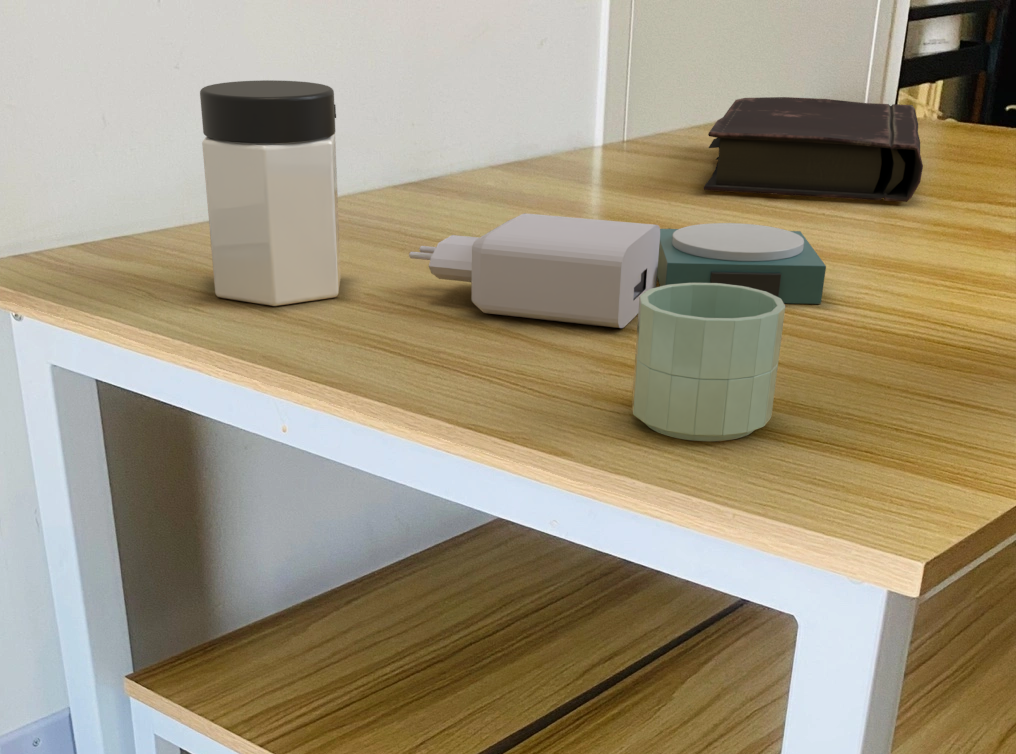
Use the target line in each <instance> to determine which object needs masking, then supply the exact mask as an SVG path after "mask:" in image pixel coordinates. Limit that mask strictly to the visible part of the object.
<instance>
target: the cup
mask: <svg viewBox="0 0 1016 754" xmlns="http://www.w3.org/2000/svg"><path fill="white" fill-rule="evenodd" d="M785 314H786V303H783V301H782V299H781V298H779V297H777V296H775V295H772V294H770V293H768V292H766V291H762V290H758V289H754V288H749V287H744V286H738V285H729V284H721V283H681V284H670V285H664V286H660V285H659V286H656V288H652V289H649V290H647V291H646V292H644V293H643V294H642V295H640V297H639V311H638V314H637V324H636V325H637V326H636V327H637V328H636V340H635V353H634V354H635V355H634V369H633V382H632V396H631V409H632V415H633V416H634V417H636V418H637V419H638V420H639V421H641V422H642V423H644V424H645V425H646V426H647V427H648V428H649V429H651V430H652V431H654V432H656V433H658V434H660V435H664V436H667V437H671V438H675V439H678V440H685V441H695V442H723V441H724V442H725V441H732V440H737V439H740V438H744V437H746V436H749V435H751V434H753V432H755V431H756V430H759V429H762V428H763V427H765V426H766V425H767V424H768V423H769V421H770V420H771V419H772V417H773V415H772V414H773V407H774V400H775V391H776V384H777V377H778V368H779V362H780V361H779V360H780V355H781V354H780V353H781V346H782V337H783V330H784V322H785V316H786V315H785Z"/></svg>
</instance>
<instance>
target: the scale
mask: <svg viewBox="0 0 1016 754" xmlns="http://www.w3.org/2000/svg"><path fill="white" fill-rule="evenodd" d="M826 270H827V265H826V264H825V262H824V261H823V260H822V259H821V257H820V256H819V254H818V253H817V252H816V250H815V249H814V248H813V246H812V245H811V244H810V242H809V241H808V240H807V238H806V237H805V235H804V234H803V233H802V231H800V230H787V229H783V228H779V227H774V226H768V225H761V224H754V223H739V222H738V223H737V222H713V223H700V224H692V225H688V226H684V227H680V228H660V244H659V257H658V270H657V281H658V284H659V287H660V286H664V285H670V284H681V283H721V284H729V285H738V286H744V287H749V288H754V289H758V290H762V291H766V292H768V293H770V294H772V295H775V296H777V297H779V298H781V299H782V301H783V303H784V304H795V305H796V304H798V305H801V304H802V305H821V304H822V299H823V291H824V283H825V277H826Z"/></svg>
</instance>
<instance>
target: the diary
mask: <svg viewBox="0 0 1016 754" xmlns="http://www.w3.org/2000/svg"><path fill="white" fill-rule="evenodd" d="M707 135H708V137H710V138H713V140H711V143H710V144H709V146H708V149H718V156H717V157H716V158H715V159H714V160H715V161H717V164H716V166H715V168H714V170H713V173H712V175H711V177H710V178H709V179H708V180H707V182H706V183H705V184H704V186H703V188H702V189H703V191H710V192H711V191H712V192H714V191H715V192H729V193H745V194H746V193H747V194H765V195H779V196H780V195H781V196H796V197H797V196H799V197H817V198H830V199H831V198H833V199H847V200H848V199H849V200H867V201H881V200H882V199H883V201H884V202H901V203H908V201H910V200H911V199H912V197H913V195H914V194H915V192H916V190H917V189H918V187H919V186H920V184H921V181H922V174H923V169H924V165H923V160H922V156H921V140H920V135H919V121H918V117H917V112H916V108H915V107H914V105H913V104H893V103H892V104H889V103H874V102H861V101H860V102H859V101H849V100H840V99H831V98H815V97H814V98H813V97H812V98H811V97H791V96H782V97H781V96H776V97H775V96H774V97H773V96H772V97H770V96H768V97H765V96H764V97H742V98H737V99H735V100H734V102H733V103H732V104H731V105H730V107H729V108H728V110H727V111H726V112H725V114H724V115H723V117H720V118H719V119H717V120H716V122H715V123H714V124H713V126H712V127H711V128H710V130H709V131H708V134H707Z"/></svg>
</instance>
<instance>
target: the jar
mask: <svg viewBox="0 0 1016 754" xmlns="http://www.w3.org/2000/svg"><path fill="white" fill-rule="evenodd" d="M199 97H200V98H199V99H200V110H201V120H202V123H201V124H202V133H203V135H204V136H205V137H204V139H203V140H202V141H201V147H202V159H203V169H204V180H205V192H206V203H207V214H208V225H209V237H210V247H211V248H210V250H211V261H212V271H213V272H212V273H213V283H214V293H215V296H216V297H218V298H221V299H227V300H232V301H240V302H245V303H253V304H258V305H263V306H269V307H270V306H272V307H278V306H279V307H280V306H285V305H293V304H298V303H299V304H300V303H306V302H312V301H313V302H314V301H320V300H326V299H332V298H333V299H334V298H336V297H338V296H339V293H340V285H341V279H342V278H341V277H342V274H341V273H342V272H341V269H342V268H341V248H340V247H341V246H340V245H341V244H340V225H339V224H340V223H339V222H340V221H339V197H338V173H337V172H338V171H337V168H338V167H337V148H336V147H337V146H336V143H337V142H336V119H337V112H336V104H335V92H334V89H333V87H331V86H329V85H326V84H323V83H316V82H309V81H297V80H274V79H273V80H269V79H268V80H266V79H265V80H262V79H261V80H239V81H238V80H237V81H227V82H221V83H220V82H219V83H215V84H214V83H213V84H209V85H206V86H203V87H202V88H201V89H200V91H199Z"/></svg>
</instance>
